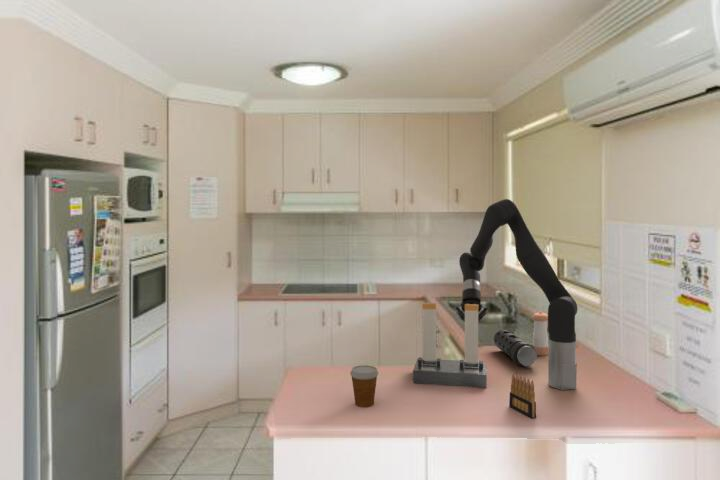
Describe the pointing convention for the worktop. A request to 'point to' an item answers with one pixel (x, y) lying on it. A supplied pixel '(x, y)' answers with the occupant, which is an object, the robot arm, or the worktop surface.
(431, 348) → the lever far
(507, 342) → the muzzle brake
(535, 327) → the pepper shaker
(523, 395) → the ammunition clip
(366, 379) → the disposable coffee cup
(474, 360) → the lever near
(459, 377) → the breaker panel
